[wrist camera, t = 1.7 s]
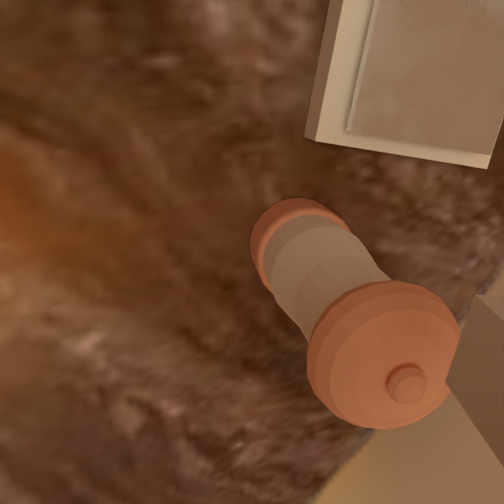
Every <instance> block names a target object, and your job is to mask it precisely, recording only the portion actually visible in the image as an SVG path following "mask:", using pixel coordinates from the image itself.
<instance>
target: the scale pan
mask: <svg viewBox="0 0 504 504" xmlns="http://www.w3.org/2000/svg"><path fill="white" fill-rule="evenodd" d="M503 116H504V0H374V5H373V9H372V14H371V19H370V23H369V28H368V32H367V37H366V41H365V46H364V50H363V55H362V59H361V64H360V69H359V73H358V78H357V82H356V87H355V91H354V96H353V100H352V105H351V110H350V114H349V119H348V123H347V128H346V131H350V132H355V133H361V134H367V135H373V136H379V137H385V138H391V139H397V140H402V141H408V142H414V143H420V144H426V145H432V146H438V147H444V148H450V149H455V150H461V151H467V152H473V153H479V154H485V155H491V153H492V150H493V147H494V144H495V141H496V138H497V134H498V131H499V128H500V125H501V122H502V119H503Z"/></svg>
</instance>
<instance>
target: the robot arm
mask: <svg viewBox="0 0 504 504" xmlns="http://www.w3.org/2000/svg"><path fill="white" fill-rule="evenodd" d="M445 383H446V384H447V386H448V387H449V389H450V390H451V392H452V393H453V394H454V396H455V397H456V398H457V400H458V402H459V403H460V404H461V406H462V407H463V409H464V410H465V412H466V413H467V415H468V416H469V418H470V419H471V420H472V422H473V423H474V425H475V426H476V428H477V429H478V430H479V432H480V434H481V435H482V436H483V438H484V439H485V441H486V442H487V444H488V445H489V446H490V448H491V449H492V451H493V452H494V454H495V455H496V457H497V458H498V460H499V461H500V463H501V464H502V465H503V467H504V298H503V297H498V296H487V295H477V294H475V295H474V298H473V301H472V304H471V307H470V310H469V313H468V316H467V319H466V322H465V325H464V328H463V330H462V333H461V336H460V339H459V342H458V345H457V348H456V351H455V354H454V357H453V360H452V363H451V365H450V368H449V371H448V374H447V377H446V380H445Z"/></svg>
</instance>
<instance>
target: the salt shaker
mask: <svg viewBox="0 0 504 504" xmlns="http://www.w3.org/2000/svg"><path fill="white" fill-rule="evenodd" d="M250 255H251V257H252V260H253V262H254V265H255V267H256V269H257V271H258V274H259V276H260V278H261V280H262V283H263V284H264V285H265V286H266V288H267V289H268V290H269V291H270V292H271V293H272V294H273V295H274V297H275V300H276V302H277V304H278V305H279V306H280V307H281V308H282V309H283V310H284V312H285V313H286V314H287V315H288V316H289V317H290V318H291V319H292V320H293V321H294V322H295V323H296V324H297V325H298V326H299V327H300V329H301V331H302V333H303V334H304V336H305V338H306V340H307V342H308V346H307V377H308V379H309V382H310V384H311V387H312V389H313V391H314V394H315V395H316V396H317V397H318V398H319V400H320V401H321V402H322V403H323V404H324V405H325V406H326V407H327V408H328V409H329V410H330V411H331V412H332V413H333V414H334V415H335V416H336V417H339V418H341V419H343V420H345V421H347V422H349V423H351V424H353V425H356V426H360V427H365V428H373V429H381V430H385V429H392V428H398V427H403V426H406V425H408V424H411V423H413V422H415V421H418V420H420V419H422V418H424V417H425V416H426V415H428V414H429V413H430V412H432V411H433V410H434V409H436V408H437V407H438V406H439V405H440V404H441V403H442V402H443V401H444V399H445V398H446V397H447V396H448V394H449V393H450V392H451V390H450V389H449V387H448V386H447V384H446V383H445V380H446V377H447V374H448V371H449V368H450V365H451V363H452V360H453V357H454V354H455V351H456V348H457V345H458V342H459V339H460V336H461V335H460V331H459V327H458V323H457V322H456V320H455V318H454V316H453V315H452V313H451V312H450V310H449V309H448V308H447V306H446V305H445V303H444V302H443V301H442V299H441V298H440V297H439V296H437V295H435V294H434V293H432V292H431V291H429V290H427V289H426V288H424V287H423V286H419V285H414V284H409V283H404V282H400V281H394V280H391V279H390V278H389V277H388V276H386V275H385V274H384V273H383V272H382V271H381V270H380V269H379V268H378V266H377V265H376V263H375V262H374V260H373V258H372V257H371V255H370V254H369V252H368V251H367V249H366V248H365V246H364V245H363V244H362V243H361V241H360V240H359V239H358V238H357V237H356V236H355V235H353V234H352V233H351V231H350V229H349V228H348V227H347V225H346V224H345V223H344V221H343V220H342V219H341V218H340V217H338V216H337V215H336V214H334V213H333V212H332V211H331V210H329V209H328V208H326V207H325V206H323V205H322V204H320V203H319V202H317V201H315V200H311V199H306V198H290V199H285V200H283V201H281V202H278V203H276V204H273V205H272V206H271V207H270V208H269V209H267V210H266V211H265V212H264V213H263V214H262V215H261V216H260V218H259V219H258V221H257V222H256V224H255V225H254V227H253V231H252V234H251V238H250Z"/></svg>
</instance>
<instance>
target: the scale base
mask: <svg viewBox="0 0 504 504" xmlns="http://www.w3.org/2000/svg"><path fill="white" fill-rule="evenodd" d="M373 5H374V0H330V3H329V8H328V13H327V18H326V23H325V29H324V34H323V39H322V44H321V49H320V54H319V60H318V65H317V70H316V75H315V80H314V85H313V91H312V96H311V101H310V106H309V111H308V116H307V122H306V127H305V132H304V137H305V138H308V139H310V140H313V141H318V142H324V143H330V144H336V145H342V146H348V147H354V148H361V149H367V150H373V151H379V152H385V153H391V154H397V155H404V156H410V157H416V158H422V159H428V160H434V161H441V162H447V163H453V164H459V165H465V166H471V167H477V168H484V169H487V167H488V164H489V161H490V158H491V155H492V153H491V155H485V154H479V153H473V152H467V151H461V150H455V149H450V148H444V147H438V146H432V145H426V144H420V143H414V142H408V141H402V140H397V139H391V138H385V137H379V136H373V135H367V134H361V133H355V132H350V131H346V128H347V123H348V119H349V114H350V110H351V105H352V100H353V96H354V91H355V87H356V82H357V78H358V73H359V69H360V64H361V59H362V55H363V50H364V46H365V41H366V37H367V32H368V28H369V23H370V19H371V14H372V9H373ZM503 117H504V116H503ZM502 120H503V119H502ZM501 123H502V122H501ZM500 126H501V125H500ZM499 129H500V128H499ZM498 133H499V131H498ZM497 136H498V134H497ZM496 139H497V138H496ZM495 142H496V141H495ZM494 145H495V144H494ZM493 148H494V147H493ZM492 151H493V150H492Z"/></svg>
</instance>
